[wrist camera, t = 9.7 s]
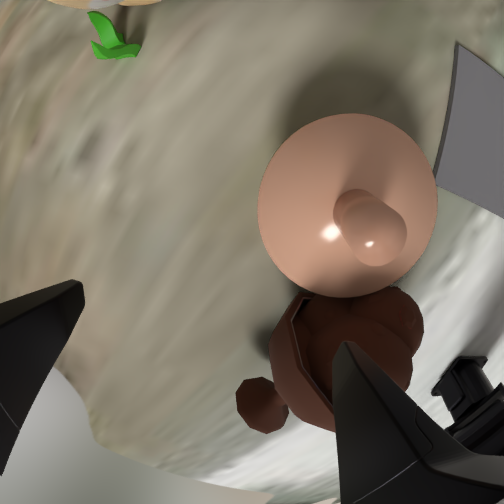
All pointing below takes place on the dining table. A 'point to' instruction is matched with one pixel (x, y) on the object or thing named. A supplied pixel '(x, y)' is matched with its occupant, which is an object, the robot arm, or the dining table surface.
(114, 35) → the kitten
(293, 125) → the dining table surface
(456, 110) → the mat
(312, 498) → the dining table surface
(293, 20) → the dining table surface
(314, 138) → the lid
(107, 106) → the dining table surface
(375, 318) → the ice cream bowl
